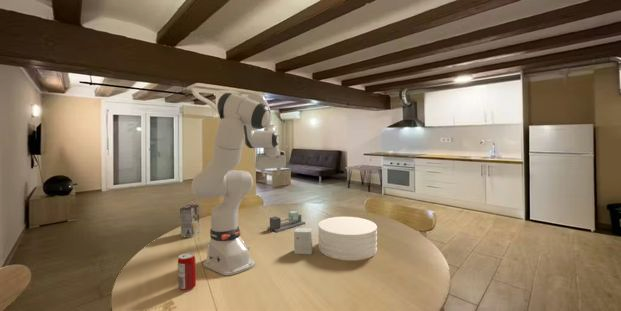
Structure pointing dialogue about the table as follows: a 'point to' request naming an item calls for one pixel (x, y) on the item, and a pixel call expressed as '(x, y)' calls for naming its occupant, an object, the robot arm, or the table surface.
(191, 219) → the coffee box
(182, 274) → the soda can
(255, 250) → the table surface
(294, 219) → the sleeve
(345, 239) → the plate stack
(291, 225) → the slider rail mechanism
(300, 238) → the small box
